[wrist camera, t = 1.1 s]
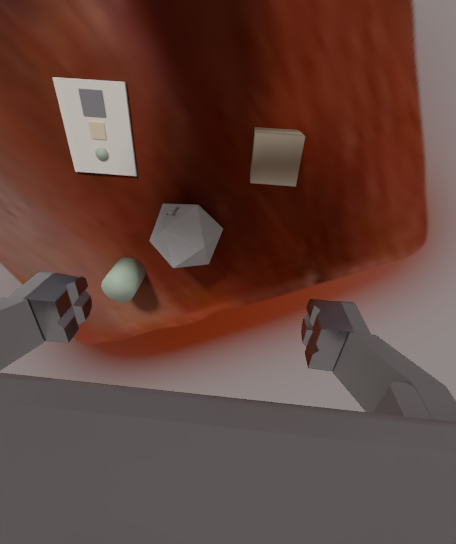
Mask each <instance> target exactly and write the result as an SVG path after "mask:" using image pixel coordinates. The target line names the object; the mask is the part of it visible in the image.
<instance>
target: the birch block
mask: <svg viewBox="0 0 456 544" xmlns="http://www.w3.org/2000/svg"><path fill="white" fill-rule="evenodd" d="M304 141H305V136H304V135H303V134H302V133H301V132H300V131H299V130H289V129H275V128H260V127H255V130H254V140H253V150H252V161H251V171H250V183H256V184H269V185H282V186H295V187H296V183H297V177H298V172H299V167H300V162H301V156H302V151H303V146H304Z"/></svg>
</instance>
